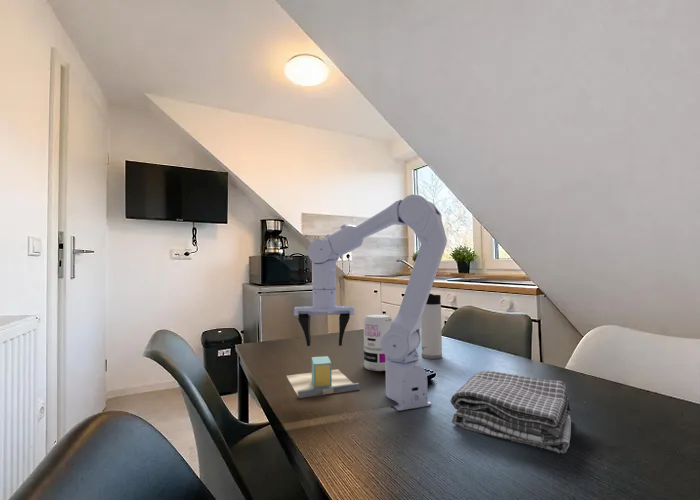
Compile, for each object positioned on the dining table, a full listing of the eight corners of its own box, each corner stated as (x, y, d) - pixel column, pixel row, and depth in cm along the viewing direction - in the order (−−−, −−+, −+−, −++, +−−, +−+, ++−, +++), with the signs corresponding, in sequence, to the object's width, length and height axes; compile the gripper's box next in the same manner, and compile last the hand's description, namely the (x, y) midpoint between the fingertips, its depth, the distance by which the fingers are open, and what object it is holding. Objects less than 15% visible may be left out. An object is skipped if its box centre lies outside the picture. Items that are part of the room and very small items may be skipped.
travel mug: (420, 358, 108) (419, 293, 109) (422, 353, 114) (421, 292, 115) (441, 360, 106) (440, 294, 107) (442, 354, 112) (441, 292, 113)
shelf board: (359, 393, 80) (359, 384, 80) (299, 402, 75) (299, 392, 75) (337, 373, 95) (337, 364, 95) (286, 379, 90) (286, 370, 90)
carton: (328, 380, 86) (327, 356, 86) (331, 389, 80) (331, 363, 80) (311, 382, 85) (311, 357, 85) (314, 391, 79) (313, 364, 79)
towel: (474, 401, 75) (473, 364, 76) (575, 423, 65) (574, 380, 65) (449, 429, 63) (448, 385, 63) (568, 462, 52) (567, 409, 53)
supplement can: (393, 365, 101) (392, 313, 102) (394, 374, 93) (393, 318, 93) (365, 365, 102) (364, 313, 102) (363, 374, 94) (362, 317, 94)
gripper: (291, 290, 82) (292, 349, 81) (353, 289, 82) (354, 348, 81) (296, 288, 89) (296, 342, 88) (353, 287, 89) (354, 341, 88)
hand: (324, 345), depth 85 cm, fingers open, 7 cm apart
